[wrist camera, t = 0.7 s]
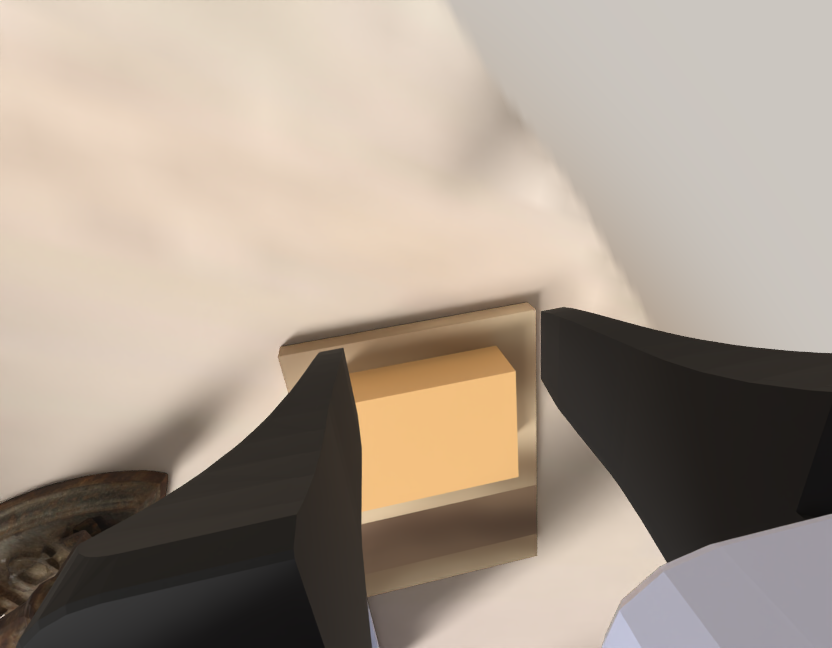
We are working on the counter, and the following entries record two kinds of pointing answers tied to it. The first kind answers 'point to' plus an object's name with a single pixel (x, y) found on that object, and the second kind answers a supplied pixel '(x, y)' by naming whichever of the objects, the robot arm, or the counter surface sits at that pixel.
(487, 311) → the board
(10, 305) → the counter surface
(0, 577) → the clothes iron
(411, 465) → the wooden block
